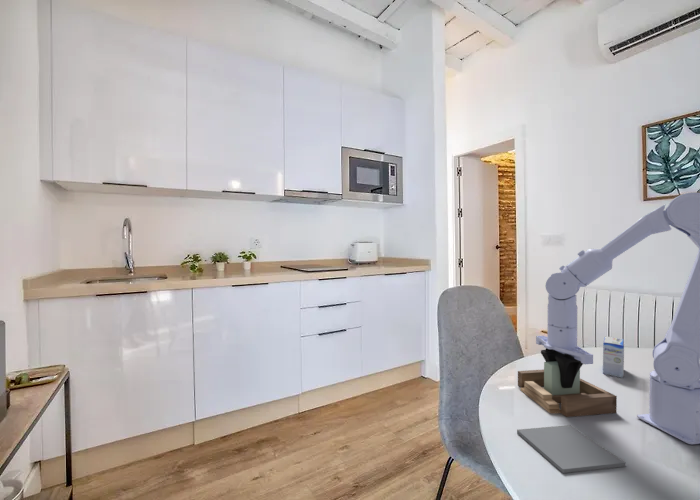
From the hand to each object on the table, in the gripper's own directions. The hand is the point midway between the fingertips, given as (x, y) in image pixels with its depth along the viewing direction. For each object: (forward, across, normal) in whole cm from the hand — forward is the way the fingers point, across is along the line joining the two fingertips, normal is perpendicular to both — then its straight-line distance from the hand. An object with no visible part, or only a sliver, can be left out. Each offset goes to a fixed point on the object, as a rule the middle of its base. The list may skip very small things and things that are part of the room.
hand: (561, 384), depth 76 cm
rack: (+3, 0, 0) cm, 3 cm away
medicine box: (+3, -12, +26) cm, 29 cm away
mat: (+3, +17, -14) cm, 22 cm away
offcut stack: (+3, +1, -6) cm, 7 cm away
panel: (+3, 0, 0) cm, 3 cm away
